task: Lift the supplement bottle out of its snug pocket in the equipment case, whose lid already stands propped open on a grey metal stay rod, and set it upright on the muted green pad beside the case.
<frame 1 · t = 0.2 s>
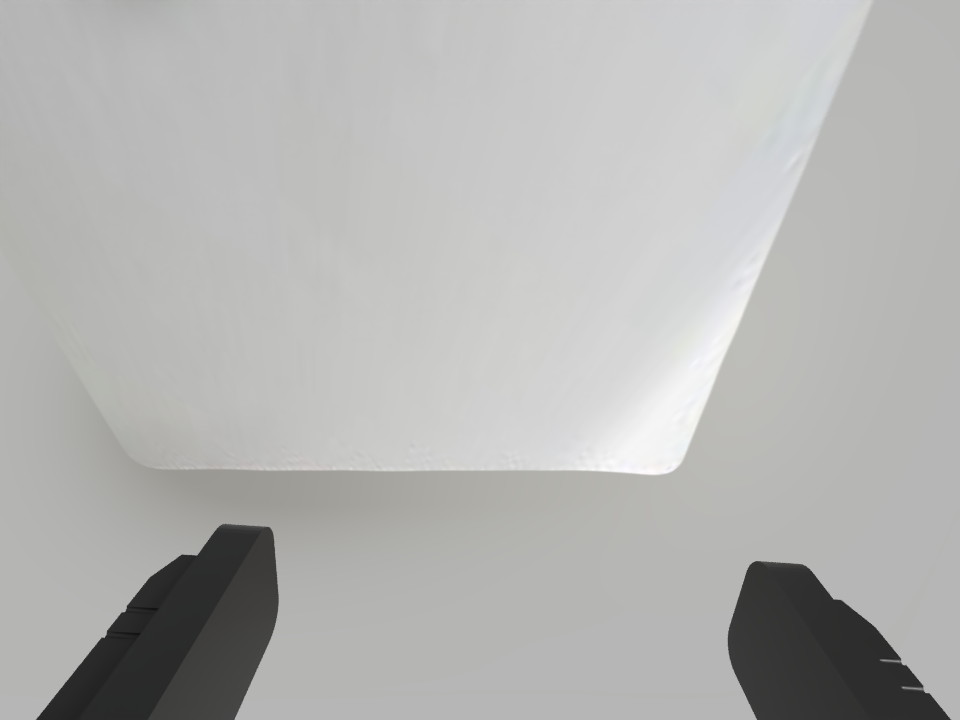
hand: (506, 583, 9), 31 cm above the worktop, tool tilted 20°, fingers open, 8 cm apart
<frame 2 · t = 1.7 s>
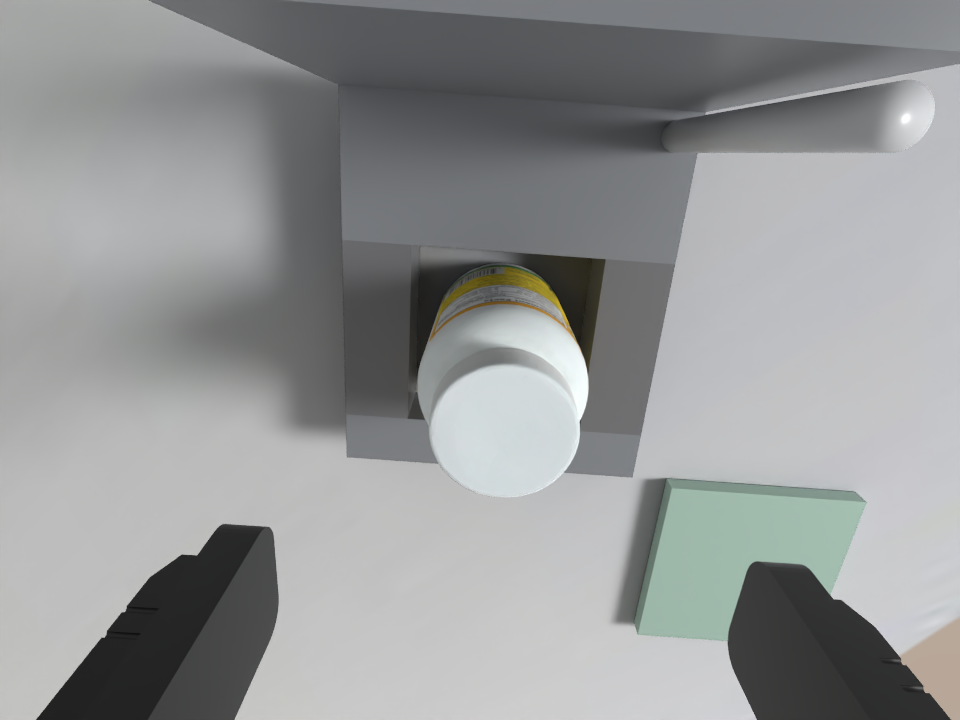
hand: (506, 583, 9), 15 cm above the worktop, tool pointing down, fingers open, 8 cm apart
supplement bottle: (499, 322, 23), resting in equipment case
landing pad: (738, 560, 27), on the worktop
equipment case: (502, 289, 22), on the worktop
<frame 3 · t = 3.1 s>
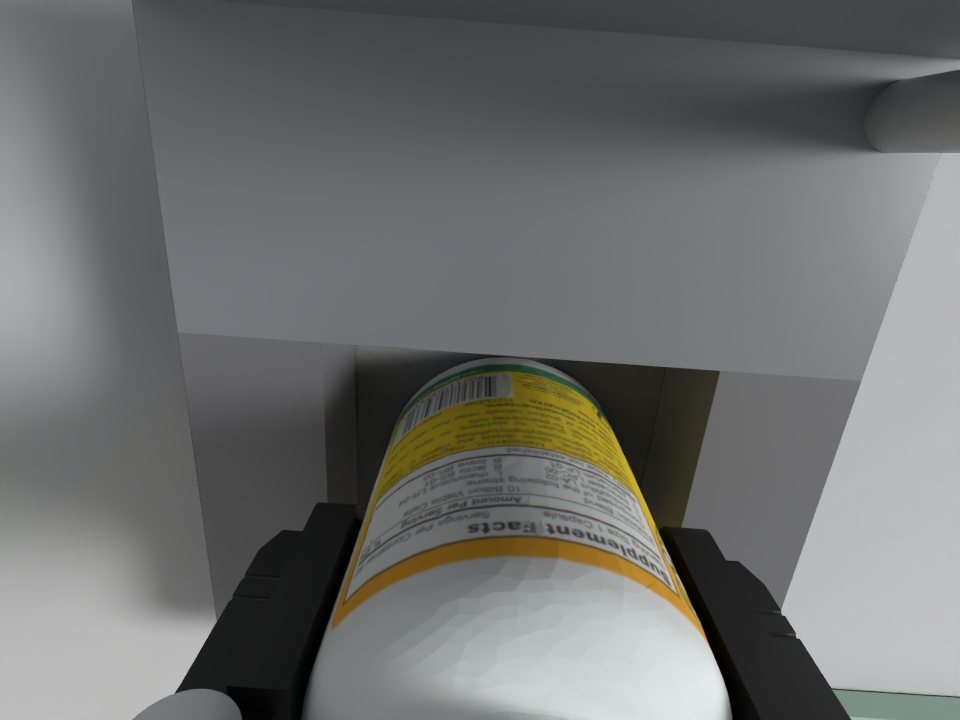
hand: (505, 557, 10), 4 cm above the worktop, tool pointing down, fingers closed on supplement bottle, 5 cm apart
supplement bottle: (501, 451, 13), resting in equipment case, touching gripper
equipment case: (507, 399, 12), on the worktop
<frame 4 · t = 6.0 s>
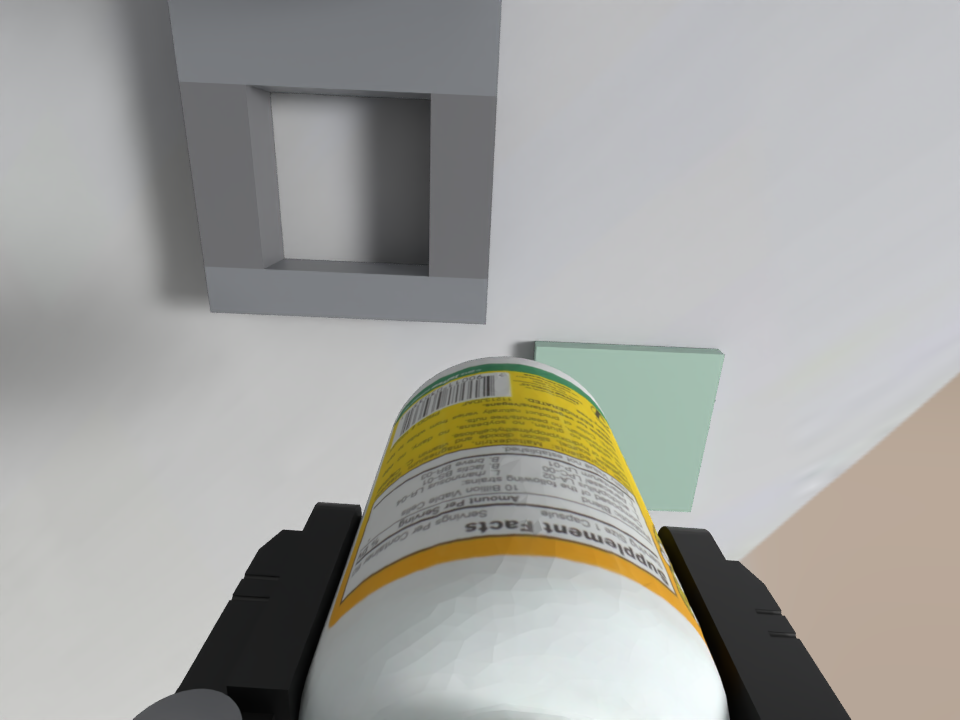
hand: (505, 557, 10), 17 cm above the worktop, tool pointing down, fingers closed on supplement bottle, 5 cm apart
supplement bottle: (500, 450, 13), point 14 cm above the worktop, touching gripper
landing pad: (614, 426, 28), on the worktop
equipment case: (355, 147, 23), on the worktop
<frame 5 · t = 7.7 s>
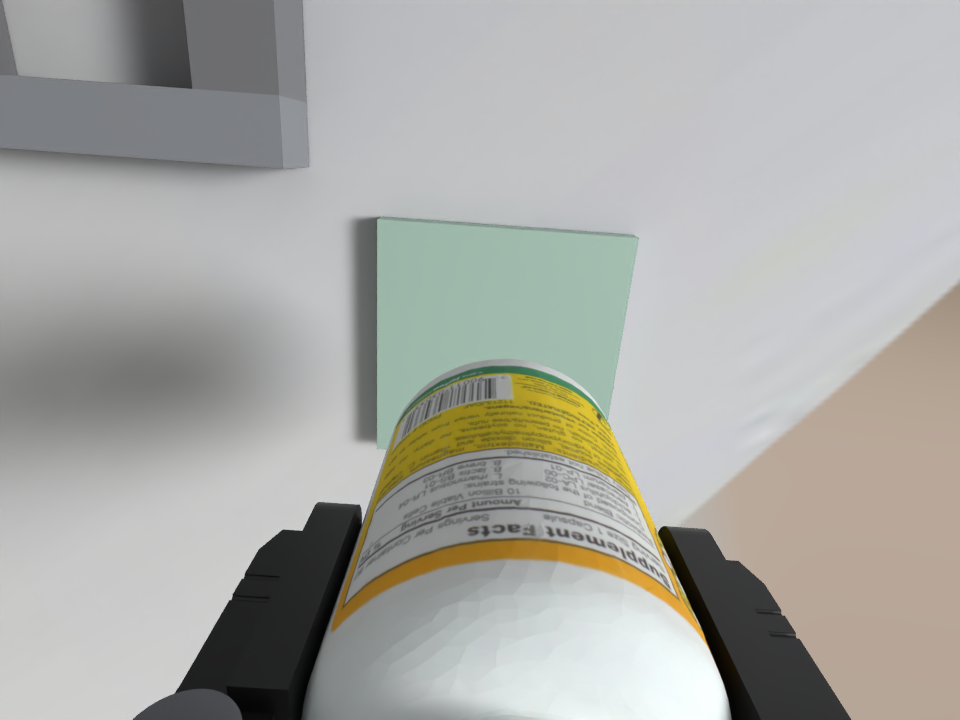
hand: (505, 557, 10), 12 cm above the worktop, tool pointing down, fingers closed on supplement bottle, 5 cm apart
supplement bottle: (501, 452, 13), point 8 cm above the worktop, touching gripper
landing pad: (497, 344, 21), on the worktop
when the fingers open (6 cm above the worktop, at t = 9.2 s): supplement bottle drops 1 cm, resting on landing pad.
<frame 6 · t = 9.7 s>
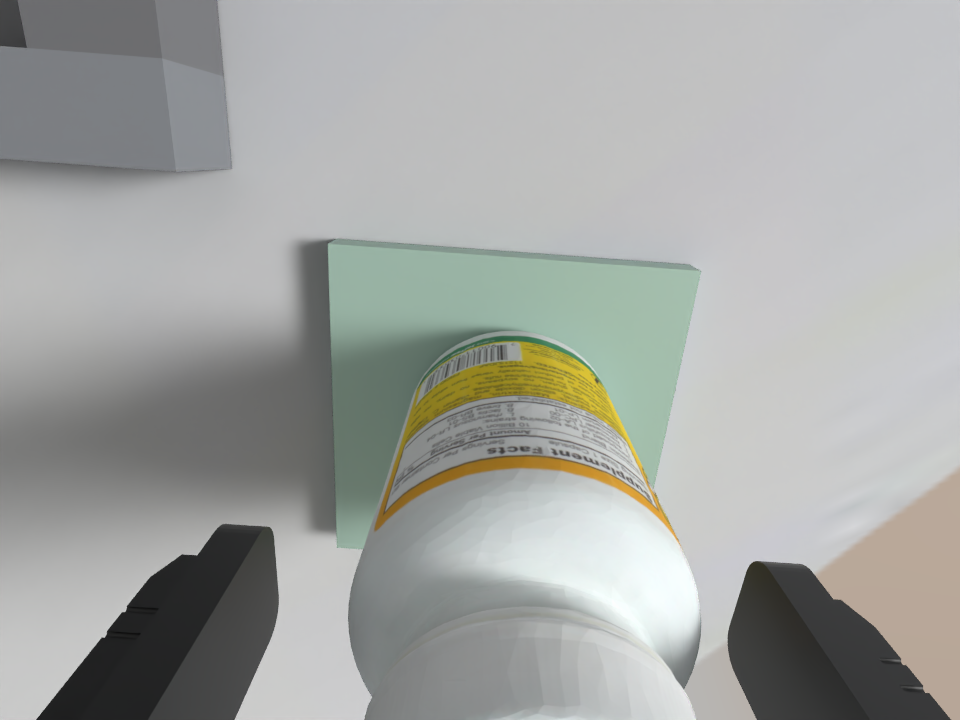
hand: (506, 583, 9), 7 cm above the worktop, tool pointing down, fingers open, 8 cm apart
supplement bottle: (508, 418, 15), point 1 cm above the worktop, touching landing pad
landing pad: (499, 410, 15), on the worktop
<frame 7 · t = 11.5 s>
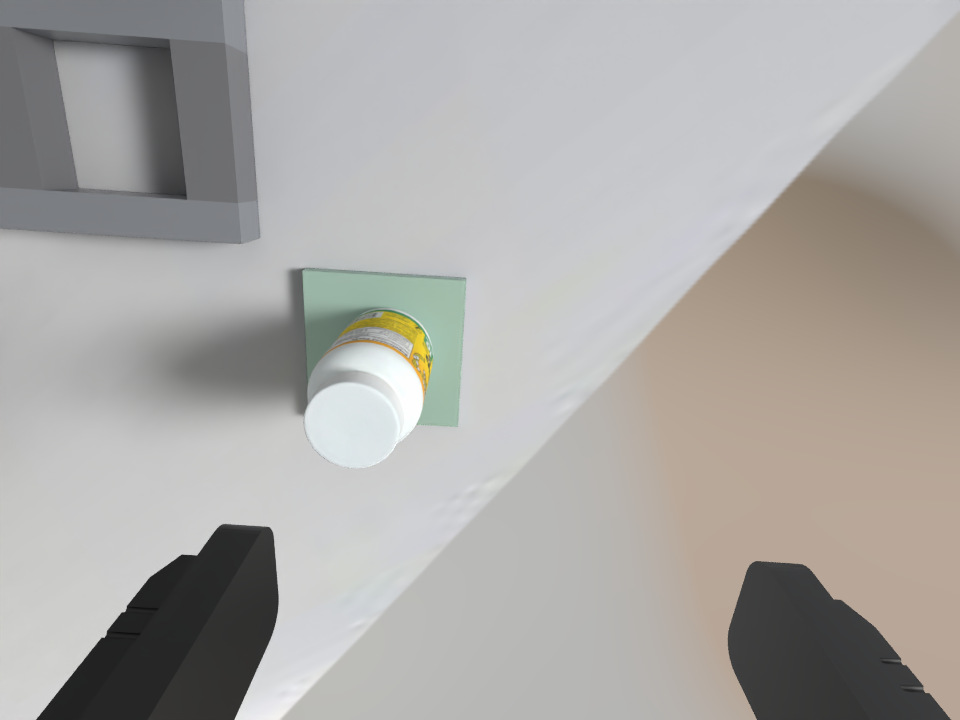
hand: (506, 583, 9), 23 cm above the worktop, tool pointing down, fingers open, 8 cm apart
supplement bottle: (388, 350, 31), point 1 cm above the worktop, touching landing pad
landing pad: (386, 348, 32), on the worktop
equipment case: (130, 89, 27), on the worktop
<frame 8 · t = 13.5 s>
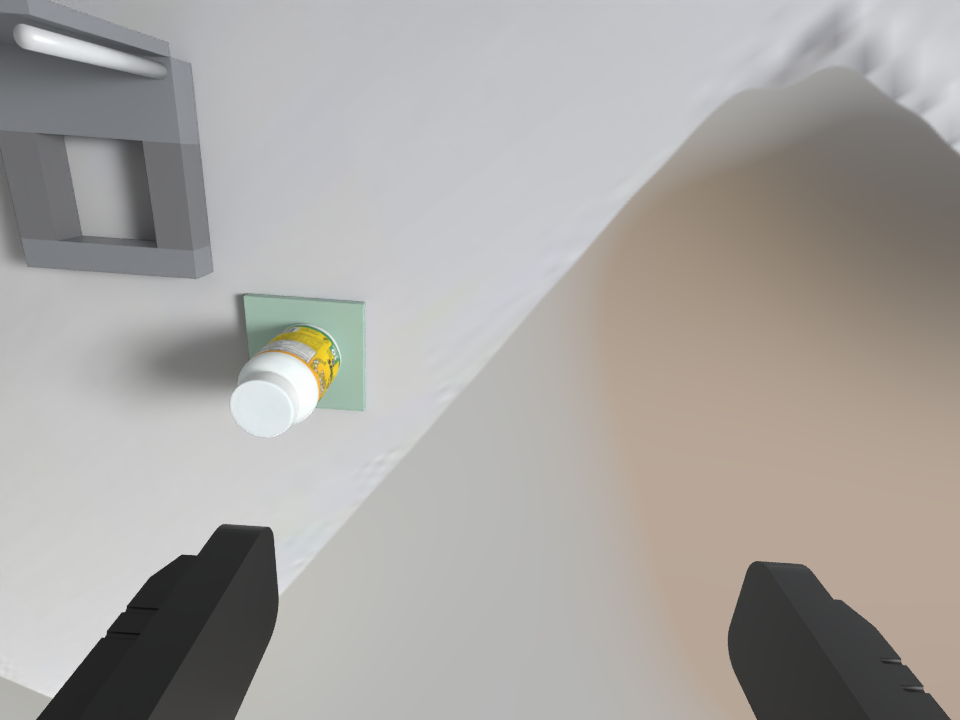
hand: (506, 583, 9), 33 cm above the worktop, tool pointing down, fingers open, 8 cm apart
supplement bottle: (309, 354, 43), point 1 cm above the worktop, touching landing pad
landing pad: (309, 352, 43), on the worktop
equipment case: (118, 168, 38), on the worktop
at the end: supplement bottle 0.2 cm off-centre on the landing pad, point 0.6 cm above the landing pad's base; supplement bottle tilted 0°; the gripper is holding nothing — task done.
